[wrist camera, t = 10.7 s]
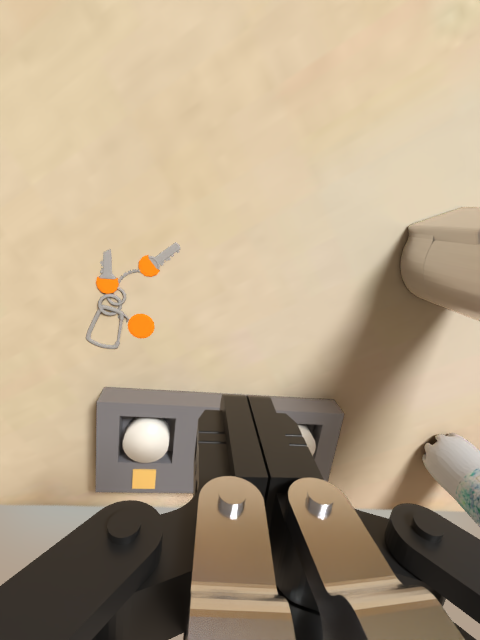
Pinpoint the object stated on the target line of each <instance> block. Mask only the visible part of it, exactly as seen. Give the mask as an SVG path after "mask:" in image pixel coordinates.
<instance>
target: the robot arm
mask: <svg viewBox="0 0 480 640" xmlns="http://www.w3.org/2000/svg"><path fill="white" fill-rule="evenodd" d="M408 230H409V237H408V240H407V242H406V244H405V247H404V249H403V252H402V256H401V265H400V269H401V276H402V279H403V281H404V284H405V285H406V287H407V288H408V290H409V291H410V292H411V293H413V294H414V295H415V296H417V297H419V298H421V299H424V300H426V301H429V302H431V303H434V304H436V305H439V306H442V307H444V308H447V309H450V310H452V311H455V312H457V313H460V314H463V315H465V316H468V317H470V318H473V319H476V320H478V321H480V207H461V208H458V209H455V210H452V211H449V212H446V213H443V214H440V215H437V216H434V217H431V218H428V219H426V220H423V221H420V222H417V223H414V224H411V225H409V227H408ZM193 487H194V488H193V498H192V500H191V501H189V502H188V503H187V504H186V505H184V506H183V507H181V508H179V509H177V510H174V511H172V512H168V513H165V514H161V515H160V514H159V513H158V512H157V511H156V509H154V508H153V507H152V506H150V505H148V504H146V503H143V502H140V501H130V500H129V501H121V502H117V503H114V504H111V505H109V506H107V507H105V508H103V509H102V510H100V511H99V512H97V513H96V514H95V515H93V516H92V517H91V518H89V519H88V520H87V521H86V522H84V523H83V524H82V525H80V526H79V527H78V528H76V529H75V530H74V531H72V532H71V533H70V534H68V535H67V536H66V537H65V538H63V539H62V540H60V541H59V542H58V543H56V544H55V545H54V546H53V547H51V548H50V549H49V550H47V551H46V552H45V553H43V554H42V555H41V556H39V557H38V558H37V559H36V560H34V561H33V562H31V563H30V564H29V565H28V566H26V567H25V568H24V569H22V570H21V571H20V572H18V573H17V574H16V575H14V576H13V577H12V578H10V579H9V580H8V581H6V582H5V583H4V584H2V585H1V586H0V640H168V639H171V638H173V637H175V636H177V635H179V634H182V633H184V636H183V640H476V639H475V638H473V637H472V636H471V635H469V634H468V633H467V632H466V631H464V630H463V629H462V628H461V627H459V626H458V625H457V624H455V623H454V622H453V621H452V620H451V618H450V617H449V616H448V614H447V613H446V611H445V610H444V608H443V605H444V602H445V600H446V599H448V600H449V601H450V602H451V603H453V604H454V605H455V606H457V607H458V608H460V609H461V610H463V612H465V613H466V614H468V615H469V616H470V617H472V618H473V619H474V620H475V621H477V622H478V623H480V540H479V539H478V538H476V537H474V536H473V535H471V534H470V533H468V532H466V531H465V530H463V529H461V528H460V527H458V526H457V525H455V524H453V523H451V522H450V521H448V520H447V519H445V518H443V517H442V516H440V515H438V514H437V513H435V512H433V511H431V510H429V509H427V508H425V507H422V506H419V505H415V504H408V503H407V504H400V505H397V506H396V507H395V508H394V509H393V510H392V512H391V515H390V518H389V519H387V518H384V517H380V516H376V515H373V514H369V513H366V512H362V511H359V510H356V509H354V508H353V506H352V505H351V503H350V501H349V500H348V498H347V497H346V496H345V494H344V493H343V492H342V491H341V490H340V489H338V488H337V487H336V486H334V485H333V484H331V483H329V482H327V481H324V479H323V477H322V475H321V473H320V471H319V469H318V467H317V465H316V462H315V460H314V458H313V456H312V454H311V452H310V450H309V448H308V447H307V444H306V441H305V439H304V437H302V433H301V431H300V429H299V427H298V425H297V423H296V422H295V421H294V420H293V419H292V418H290V417H289V416H288V415H287V414H286V413H276V410H275V408H274V405H273V403H272V400H271V398H270V397H266V396H248V395H247V396H245V395H228V394H222V397H221V403H220V410H204V412H203V413H202V415H201V416H200V417H199V419H198V426H197V436H196V445H195V454H194V478H193Z"/></svg>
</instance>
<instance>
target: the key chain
mask: <svg viewBox="0 0 480 640" xmlns="http://www.w3.org/2000/svg"><path fill="white" fill-rule="evenodd" d="M179 250H180V246H179V244H177V243H176V242H175V243H174V244H172V245H171V246H170V247H168V248H167V249H165V250H164V251H163V252H161V253H160V254H158V255H157V256H156V257H152V256H148V255H147V256H144V257H142V259H141V260H140V261H139V269H138V270H136V269H134V270H133V271H131V270H130V271H128V273H124V275H123V276H121V277H120V279H118V278H116V277H115V276H114V275H113V274H112V257H111V249H109V250H107V251H105V252H104V255H103V261H101V262H100V263H101V266H103V268H101V270H102V271H101V270H100V273H103V274H101V275H100V276H99V277H97V281H96V283H97V287H98V289H99V290H100V291H101V292H103V293H106V294H105V295H104V296H102V297H101V298H100V299H99V301H98V308H99V309H98V310H97V312H96V314H95V316H94V318H93V320H92V322H91V325H90V327H89V329H88V331H87V335H86V339H87V340H88V341H89V342H90V343H92V344H94V345H96V346H99V347H103V348H110V349H116V348H118V346H119V344H120V342H119V340H120V334H121V328H122V322H123V320H124V316H125V317H126V318H127V321H126V322H128V320H129V319H128V317H127V316H126V315H125V314H124V313H123V312H122V311H120V310H121V308H122V304H123V303H124V302H125V300H126V294H125V292H124V290H123V289H121V288H119V287H118V286H119V283H120V282H121V279H123V278H124V276H127V275H128V274H131V273H132V272H133V273H135V272H136V271H138V272H141V273H142V274H144V275H145V276H150V277H152V276H154V275H157V273H158V272H159V271H160V270H159V267H160V265H161V266H162V265H163V263H164V260H166V261H167V260H170V256H172V257H173V256H174V255H173V254H174V253H175V252H177V253H178V252H180V251H179ZM116 290H120V291H121V292H122V294H123V300H122V301H121V299H120V298H119V297H118V296H116V295H113V294H110V293H113V292H115V291H116ZM109 297H112V298H115V299H116V300H117V301H118V303H114V302H112V301H111V300H110V298H109ZM105 298H107V300H108V302H109V303H111V304H112V305H115V306H119V307H118V309H115V308H113V307H109V306H105V305H102V301H103V299H105ZM103 309H107V310H111V311H114V312H111V313H109V312H106V311H105V310H103ZM101 312H102V313H103V314H105V315H109V316H112V315H116V314H117V313H118V314H119V315H118V318H119V317H120V324H119V331H118V338H117V341H116V343H115V345H105V344H101V343H98V342H96V341H94V340H92V339H91V332H92V330H93V328H94V326H95V323H96V321H97V319H98V317H99V315H100V313H101ZM128 329H129V331H130V333H131V334H132V335H133V336H135V337H137V338H146V337H148V336H150V335H151V334H152V333H153V331H154V322H153V321H152V319H151V318H150V317H149V316H147V315H144V314H136V315H134V316H132V317H131V319H130V320H129V322H128Z"/></svg>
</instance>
